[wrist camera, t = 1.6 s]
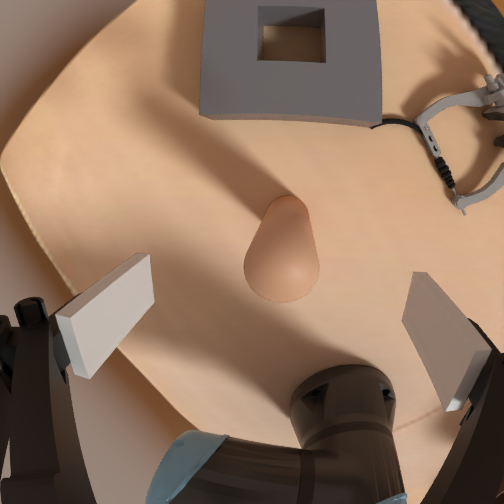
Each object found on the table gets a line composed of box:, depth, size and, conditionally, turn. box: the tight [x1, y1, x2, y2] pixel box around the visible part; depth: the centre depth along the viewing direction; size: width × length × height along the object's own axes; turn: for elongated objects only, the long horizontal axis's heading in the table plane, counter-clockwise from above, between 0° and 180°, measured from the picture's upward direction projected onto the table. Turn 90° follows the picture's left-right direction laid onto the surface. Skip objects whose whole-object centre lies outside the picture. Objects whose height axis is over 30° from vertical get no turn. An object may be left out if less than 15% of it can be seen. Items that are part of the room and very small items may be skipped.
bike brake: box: [370, 73, 504, 215], centre depth 24 cm, size 14×7×20 cm
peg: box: [244, 196, 319, 303], centre depth 25 cm, size 4×4×15 cm
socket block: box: [199, 0, 382, 127], centre depth 24 cm, size 16×16×5 cm
